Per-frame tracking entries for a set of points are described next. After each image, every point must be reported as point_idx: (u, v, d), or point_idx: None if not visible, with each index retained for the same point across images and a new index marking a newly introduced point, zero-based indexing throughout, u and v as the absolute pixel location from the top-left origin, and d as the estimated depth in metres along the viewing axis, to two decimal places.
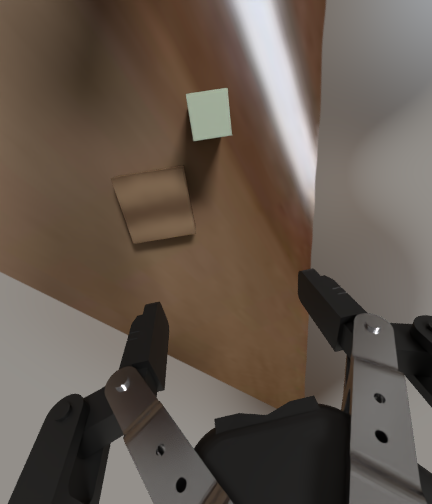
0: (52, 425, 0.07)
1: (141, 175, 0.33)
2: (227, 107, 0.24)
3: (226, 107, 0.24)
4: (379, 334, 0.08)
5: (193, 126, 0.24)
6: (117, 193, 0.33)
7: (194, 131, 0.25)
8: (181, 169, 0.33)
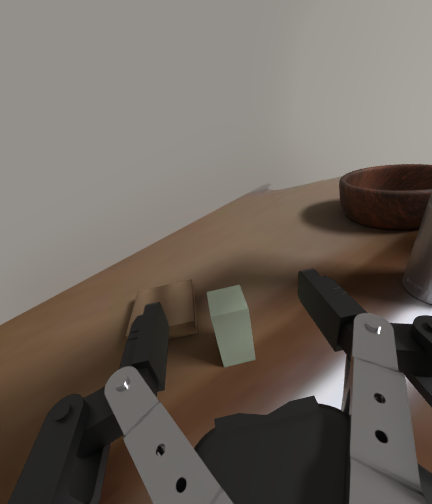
0: (52, 425, 0.07)
1: (191, 294, 0.40)
2: (233, 310, 0.25)
3: (233, 310, 0.25)
4: (379, 334, 0.08)
5: (217, 290, 0.29)
6: (180, 282, 0.43)
7: (213, 291, 0.28)
8: (192, 319, 0.34)
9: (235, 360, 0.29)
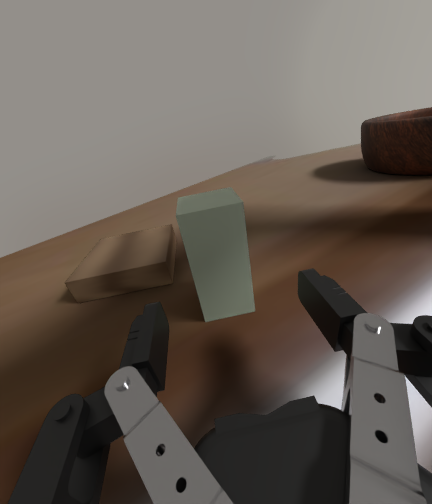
0: (52, 425, 0.07)
1: (168, 237, 0.29)
2: (216, 206, 0.14)
3: (216, 205, 0.14)
4: (379, 334, 0.08)
5: (195, 194, 0.18)
6: (156, 227, 0.33)
7: (189, 196, 0.18)
8: (163, 260, 0.23)
9: (223, 310, 0.19)
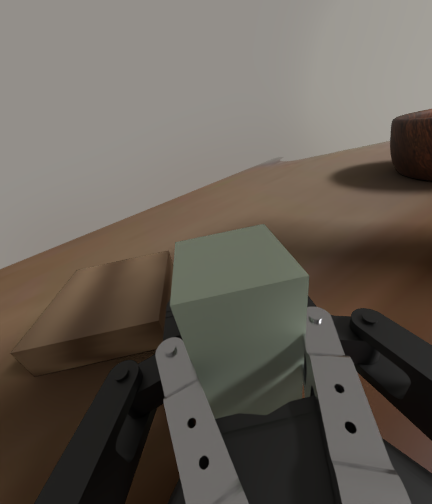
0: (112, 382, 0.08)
1: (163, 272, 0.21)
2: (253, 283, 0.07)
3: (253, 281, 0.07)
4: (318, 325, 0.08)
5: (204, 238, 0.10)
6: (149, 255, 0.25)
7: (194, 240, 0.10)
8: (155, 318, 0.16)
9: None
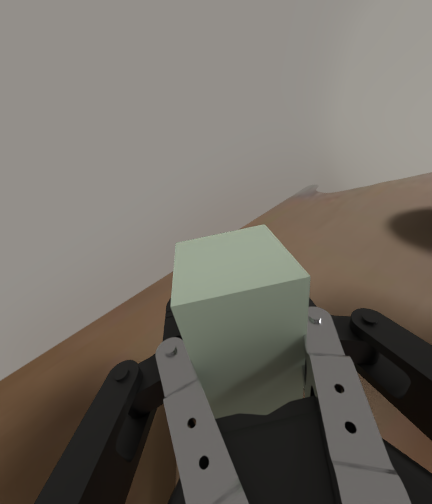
0: (112, 382, 0.08)
1: None
2: (254, 284, 0.07)
3: (254, 282, 0.07)
4: (318, 325, 0.08)
5: (204, 238, 0.10)
6: None
7: (194, 241, 0.10)
8: None
9: None
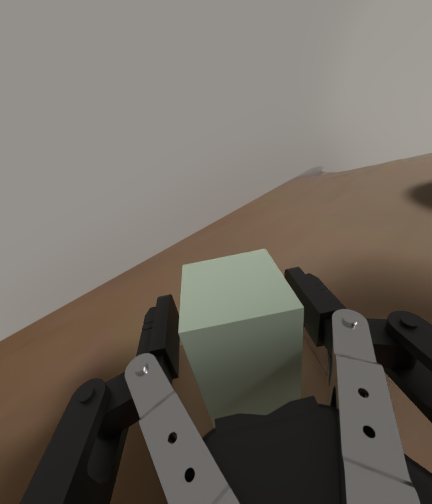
0: (76, 406, 0.07)
1: (320, 370, 0.15)
2: (253, 313, 0.08)
3: (253, 311, 0.08)
4: (354, 329, 0.08)
5: (209, 261, 0.11)
6: None
7: (200, 264, 0.11)
8: None
9: None
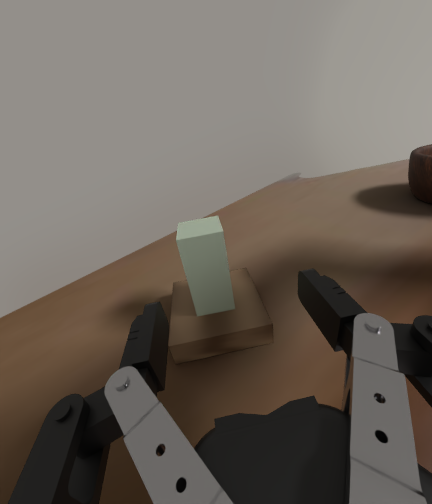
0: (52, 425, 0.07)
1: (253, 286, 0.28)
2: (204, 233, 0.20)
3: (204, 233, 0.20)
4: (379, 334, 0.08)
5: (191, 221, 0.24)
6: (231, 271, 0.32)
7: (186, 222, 0.24)
8: (269, 322, 0.23)
9: (210, 307, 0.25)
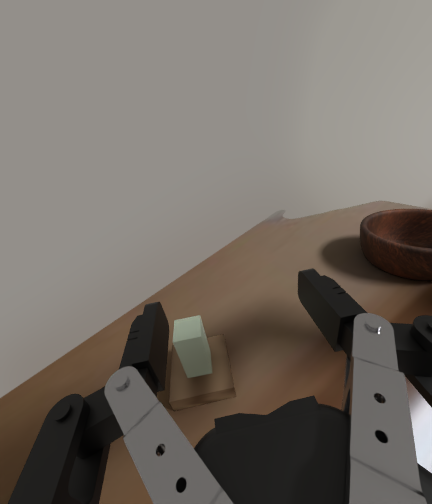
0: (52, 425, 0.07)
1: (226, 353, 0.41)
2: (189, 337, 0.34)
3: (190, 337, 0.34)
4: (379, 334, 0.08)
5: (182, 319, 0.37)
6: (213, 337, 0.45)
7: (179, 320, 0.37)
8: (232, 386, 0.36)
9: (196, 373, 0.38)
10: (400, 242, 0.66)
